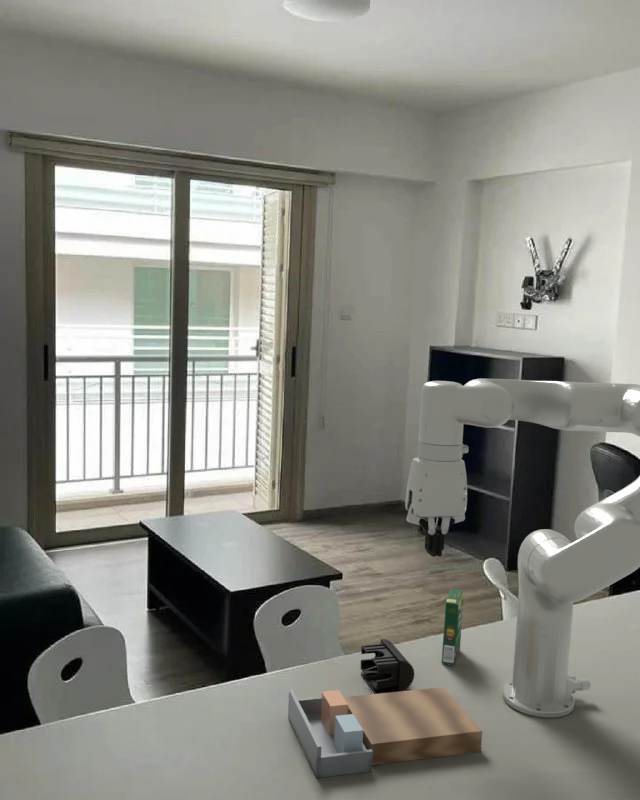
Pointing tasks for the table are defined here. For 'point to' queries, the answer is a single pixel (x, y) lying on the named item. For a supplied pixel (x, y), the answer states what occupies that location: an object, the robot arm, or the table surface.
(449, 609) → the coffee box
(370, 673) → the end cap
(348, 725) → the pale blue block
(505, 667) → the table surface
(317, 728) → the box
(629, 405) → the robot arm
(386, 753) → the board
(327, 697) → the block terracotta
